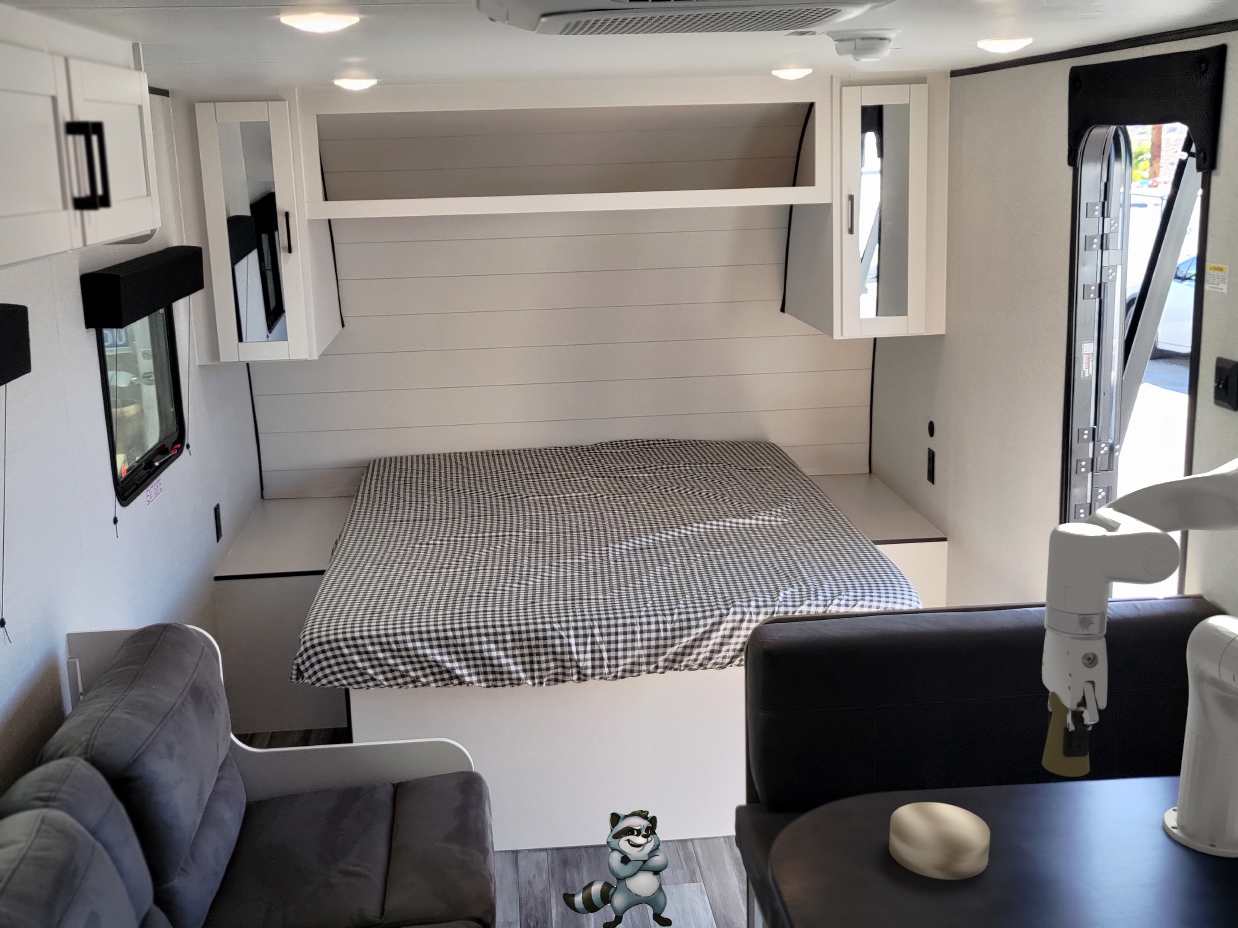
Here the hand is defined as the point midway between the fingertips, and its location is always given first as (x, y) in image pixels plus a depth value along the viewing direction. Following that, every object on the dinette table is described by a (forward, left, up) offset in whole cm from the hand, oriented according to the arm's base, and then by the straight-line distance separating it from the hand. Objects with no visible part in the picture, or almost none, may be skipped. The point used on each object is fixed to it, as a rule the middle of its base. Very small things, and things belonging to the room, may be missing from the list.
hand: (1067, 746), depth 154 cm
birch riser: (+17, 0, -15) cm, 23 cm away
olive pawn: (0, 0, -3) cm, 3 cm away
